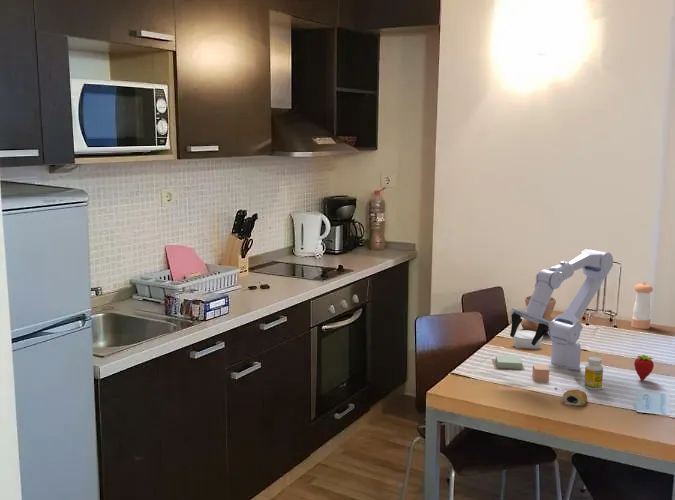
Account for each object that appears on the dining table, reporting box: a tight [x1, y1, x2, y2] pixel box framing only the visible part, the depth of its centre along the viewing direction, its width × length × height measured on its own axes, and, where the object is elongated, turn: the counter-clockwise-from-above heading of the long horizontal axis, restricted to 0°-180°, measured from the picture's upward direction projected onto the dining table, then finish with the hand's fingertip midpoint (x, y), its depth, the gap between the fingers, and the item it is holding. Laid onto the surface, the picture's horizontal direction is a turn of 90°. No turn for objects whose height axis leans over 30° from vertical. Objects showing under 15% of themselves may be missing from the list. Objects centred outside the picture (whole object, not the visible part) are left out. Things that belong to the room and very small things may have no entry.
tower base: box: [491, 358, 525, 371], centre depth 241 cm, size 10×10×2 cm
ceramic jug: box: [520, 294, 557, 335], centre depth 284 cm, size 18×14×14 cm
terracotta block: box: [531, 364, 550, 382], centre depth 228 cm, size 4×4×5 cm
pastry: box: [561, 389, 588, 407], centre depth 212 cm, size 9×7×4 cm
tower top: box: [495, 354, 523, 369], centre depth 241 cm, size 8×8×2 cm
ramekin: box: [512, 329, 544, 350], centre depth 264 cm, size 11×11×5 cm
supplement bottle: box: [584, 356, 604, 391], centre depth 223 cm, size 5×5×10 cm
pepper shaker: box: [630, 281, 654, 330], centre depth 292 cm, size 7×7×19 cm
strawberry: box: [633, 354, 655, 381], centre depth 229 cm, size 6×8×10 cm
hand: (522, 340), depth 230 cm, fingers open, 7 cm apart
